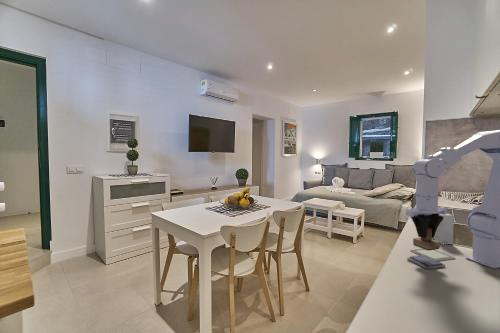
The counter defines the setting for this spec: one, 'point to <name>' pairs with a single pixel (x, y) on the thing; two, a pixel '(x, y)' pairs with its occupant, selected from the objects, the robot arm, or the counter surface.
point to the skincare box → (445, 230)
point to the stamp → (427, 241)
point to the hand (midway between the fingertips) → (426, 236)
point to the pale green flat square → (433, 254)
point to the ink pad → (425, 262)
